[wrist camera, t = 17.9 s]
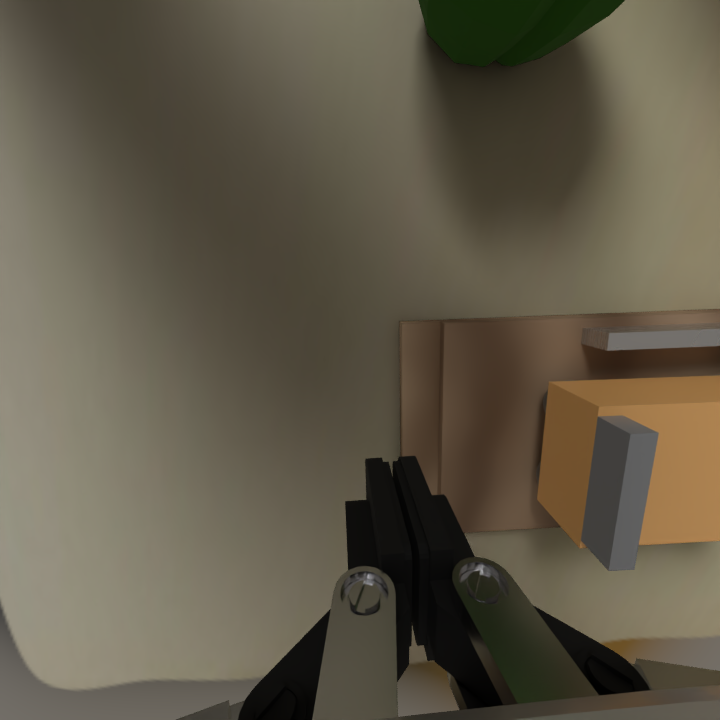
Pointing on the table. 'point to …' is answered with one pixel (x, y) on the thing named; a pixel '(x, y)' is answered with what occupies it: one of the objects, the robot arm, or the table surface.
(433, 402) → the loading dock
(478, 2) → the bell pepper
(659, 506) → the orange block
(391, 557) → the robot arm
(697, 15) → the table surface
